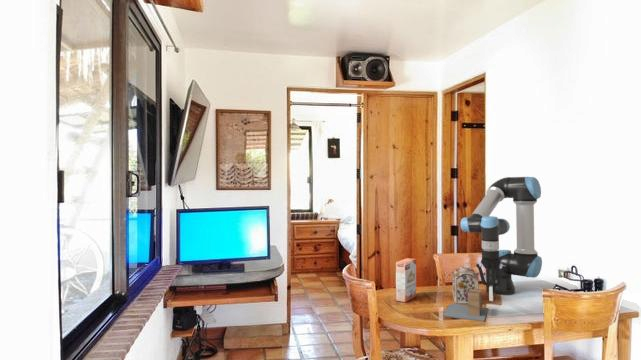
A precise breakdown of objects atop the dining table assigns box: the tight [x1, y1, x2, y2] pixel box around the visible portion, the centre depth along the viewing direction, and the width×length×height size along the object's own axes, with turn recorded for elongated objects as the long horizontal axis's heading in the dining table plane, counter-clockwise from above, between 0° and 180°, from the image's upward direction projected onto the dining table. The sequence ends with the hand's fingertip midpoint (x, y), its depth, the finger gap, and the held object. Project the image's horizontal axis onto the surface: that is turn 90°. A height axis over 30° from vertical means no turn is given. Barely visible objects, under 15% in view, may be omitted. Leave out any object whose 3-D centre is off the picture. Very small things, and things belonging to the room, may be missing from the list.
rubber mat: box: [442, 303, 489, 323], centre depth 193 cm, size 20×18×1 cm
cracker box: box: [395, 257, 417, 303], centre depth 217 cm, size 14×6×21 cm, turn 143°
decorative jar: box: [452, 265, 480, 305], centre depth 212 cm, size 12×12×18 cm
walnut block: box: [467, 289, 483, 316], centre depth 191 cm, size 9×5×10 cm, turn 152°
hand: (491, 300), depth 188 cm, fingers closed
